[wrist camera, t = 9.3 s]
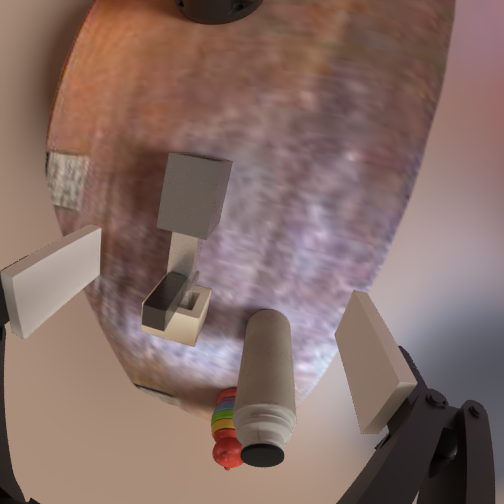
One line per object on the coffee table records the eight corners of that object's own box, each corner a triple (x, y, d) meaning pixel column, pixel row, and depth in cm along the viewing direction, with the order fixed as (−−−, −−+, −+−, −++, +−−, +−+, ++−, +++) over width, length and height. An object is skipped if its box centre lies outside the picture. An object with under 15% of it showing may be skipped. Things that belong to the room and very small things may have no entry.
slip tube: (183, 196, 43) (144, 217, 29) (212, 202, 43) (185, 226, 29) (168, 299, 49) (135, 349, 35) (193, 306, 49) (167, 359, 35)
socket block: (163, 276, 51) (142, 302, 41) (211, 289, 51) (199, 318, 41) (160, 302, 52) (141, 330, 43) (206, 315, 52) (194, 347, 43)
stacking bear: (258, 417, 61) (253, 479, 45) (216, 412, 62) (203, 472, 45) (263, 388, 58) (259, 455, 41) (216, 382, 58) (201, 448, 41)
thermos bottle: (289, 344, 53) (296, 473, 27) (247, 344, 54) (230, 472, 28) (290, 308, 51) (300, 441, 24) (245, 309, 52) (222, 440, 25)
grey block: (189, 152, 43) (169, 152, 34) (232, 161, 43) (222, 163, 34) (178, 212, 47) (156, 227, 37) (219, 222, 47) (206, 239, 38)
